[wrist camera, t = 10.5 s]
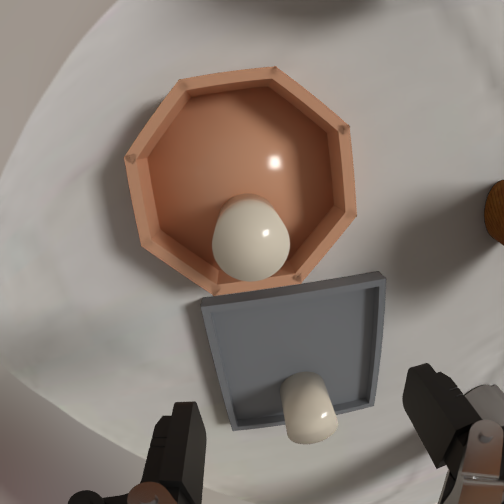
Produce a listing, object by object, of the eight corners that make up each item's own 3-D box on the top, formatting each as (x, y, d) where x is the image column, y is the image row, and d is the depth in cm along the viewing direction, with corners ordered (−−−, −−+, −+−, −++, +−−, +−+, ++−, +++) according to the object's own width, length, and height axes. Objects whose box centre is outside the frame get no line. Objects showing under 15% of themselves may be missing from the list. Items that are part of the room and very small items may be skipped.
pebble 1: (274, 189, 23) (285, 202, 18) (280, 247, 24) (293, 275, 19) (213, 198, 23) (206, 213, 18) (222, 255, 24) (218, 286, 19)
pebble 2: (324, 367, 28) (339, 407, 23) (324, 399, 30) (336, 438, 24) (277, 375, 28) (285, 417, 23) (281, 406, 30) (288, 447, 24)
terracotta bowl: (326, 74, 21) (340, 63, 18) (344, 258, 26) (359, 274, 22) (131, 101, 21) (114, 94, 17) (164, 283, 25) (155, 303, 22)
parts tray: (378, 271, 26) (386, 278, 25) (369, 396, 31) (373, 405, 29) (202, 297, 26) (200, 307, 24) (232, 420, 31) (232, 430, 29)
